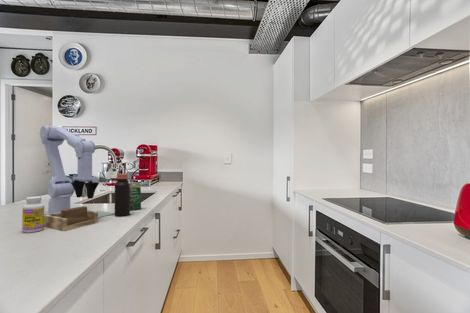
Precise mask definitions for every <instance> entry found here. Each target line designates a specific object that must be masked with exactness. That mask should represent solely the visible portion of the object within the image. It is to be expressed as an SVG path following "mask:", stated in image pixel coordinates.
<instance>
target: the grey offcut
mask: <svg viewBox="0 0 470 313" xmlns="http://www.w3.org/2000/svg"><path fill="white" fill-rule="evenodd" d="M50 215H51V216H56V217H61V212H57V213H51V214H50Z"/></svg>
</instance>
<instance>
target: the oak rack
mask: <svg viewBox="0 0 470 313" xmlns="http://www.w3.org/2000/svg"><path fill="white" fill-rule="evenodd" d="M98 221H99V218H98V212H95V211H93V210H88V209H87V221H85V222H81V223H76V224H72V225H68V226H67V219H66V218H61V217H56V216H51V215H47V214H45V213H44V228H45V227H46V228H49V229H54V230H59V231H63V232H66V231H69V230H73V229H77V228H83V227H84V226H90V225H92V224H94V225H95V224H97V223H99V222H98Z"/></svg>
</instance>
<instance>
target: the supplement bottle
mask: <svg viewBox="0 0 470 313" xmlns="http://www.w3.org/2000/svg"><path fill="white" fill-rule="evenodd" d="M41 201H42V196H40V195H39V196H28V197H26V198H25V202H26V204H24V205H23V206H22V215H21V216H22V226H21V228H22V229H21V230H22V232H23V233H29V234H30V233H35V232H36V233H38V232H40V231H43V230H44V229H45V227H44V214H45V204H44V203H43V202H41Z"/></svg>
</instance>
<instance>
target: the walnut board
mask: <svg viewBox="0 0 470 313" xmlns="http://www.w3.org/2000/svg"><path fill="white" fill-rule="evenodd" d="M87 210H88V207H87V206H85V205H84V206H76V207H70V209H65V210H61V218H66V219H67V226H68V225H72V224H76V223H81V222H85V221H87Z"/></svg>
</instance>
